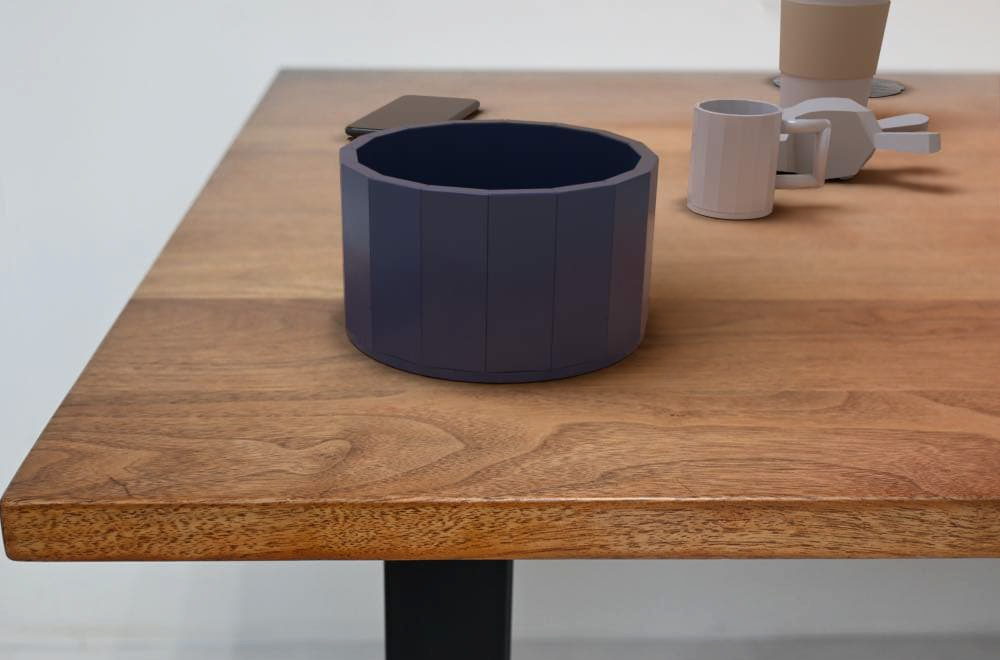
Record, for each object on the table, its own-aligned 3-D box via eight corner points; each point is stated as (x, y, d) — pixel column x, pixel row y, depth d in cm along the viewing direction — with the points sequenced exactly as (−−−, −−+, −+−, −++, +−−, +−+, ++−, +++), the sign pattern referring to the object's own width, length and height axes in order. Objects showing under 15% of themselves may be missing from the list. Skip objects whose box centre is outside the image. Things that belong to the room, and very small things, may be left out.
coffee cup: (897, 130, 102) (925, -63, 97) (795, 135, 101) (817, -62, 95) (843, 108, 110) (866, -71, 105) (748, 112, 109) (765, -71, 103)
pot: (607, 270, 69) (615, 117, 66) (680, 376, 56) (696, 189, 52) (340, 279, 67) (335, 122, 64) (350, 390, 54) (345, 198, 51)
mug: (700, 220, 78) (709, 116, 76) (677, 197, 83) (684, 99, 81) (837, 216, 79) (850, 114, 77) (805, 194, 84) (817, 97, 82)
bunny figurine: (712, 99, 93) (925, 83, 90) (714, 166, 95) (923, 153, 92) (710, 125, 85) (946, 109, 81) (713, 199, 87) (943, 186, 83)
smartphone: (402, 103, 111) (340, 137, 98) (402, 93, 111) (340, 127, 98) (483, 108, 109) (431, 144, 96) (483, 98, 109) (431, 133, 96)
